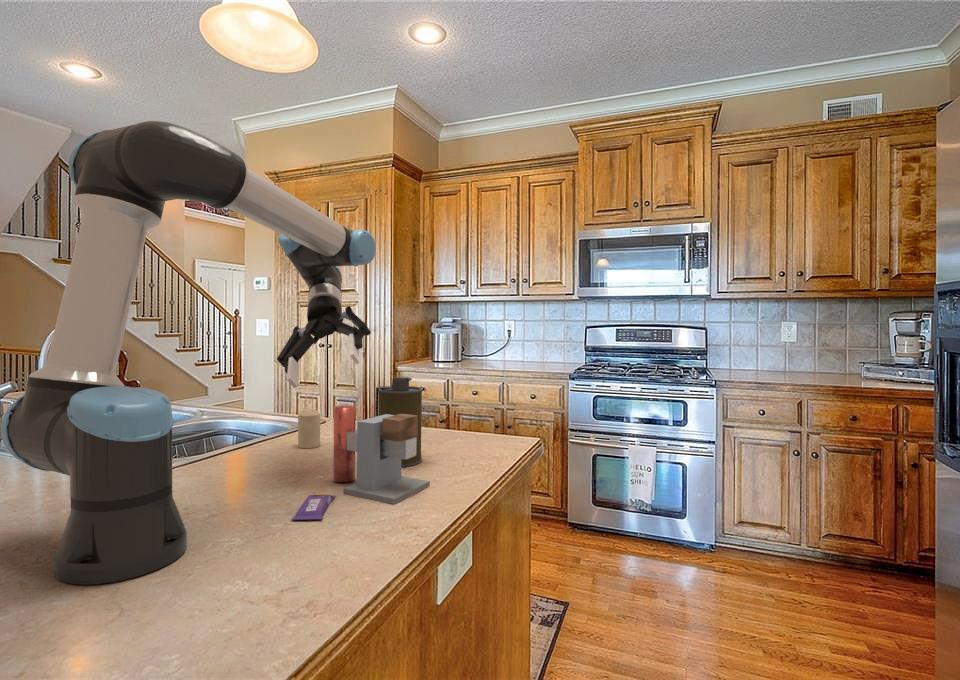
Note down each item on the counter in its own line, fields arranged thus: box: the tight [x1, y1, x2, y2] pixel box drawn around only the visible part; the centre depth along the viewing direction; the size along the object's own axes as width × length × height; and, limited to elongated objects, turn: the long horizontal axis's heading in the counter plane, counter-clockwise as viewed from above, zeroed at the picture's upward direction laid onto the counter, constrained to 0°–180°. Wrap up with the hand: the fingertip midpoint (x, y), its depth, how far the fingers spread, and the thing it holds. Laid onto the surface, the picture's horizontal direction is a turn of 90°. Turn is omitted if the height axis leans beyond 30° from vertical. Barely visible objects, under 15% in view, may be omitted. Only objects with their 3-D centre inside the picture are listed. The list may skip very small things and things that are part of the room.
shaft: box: [332, 404, 417, 483], centre depth 104 cm, size 4×19×15 cm, turn 63°
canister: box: [375, 376, 423, 468], centre depth 123 cm, size 11×10×20 cm
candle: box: [297, 407, 321, 449], centre depth 136 cm, size 6×6×10 cm
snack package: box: [291, 494, 336, 521], centre depth 92 cm, size 12×2×5 cm
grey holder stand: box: [343, 414, 431, 505], centre depth 102 cm, size 12×12×14 cm
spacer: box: [382, 414, 418, 442], centre depth 101 cm, size 6×4×4 cm, turn 153°
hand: (323, 371), depth 103 cm, fingers open, 13 cm apart
